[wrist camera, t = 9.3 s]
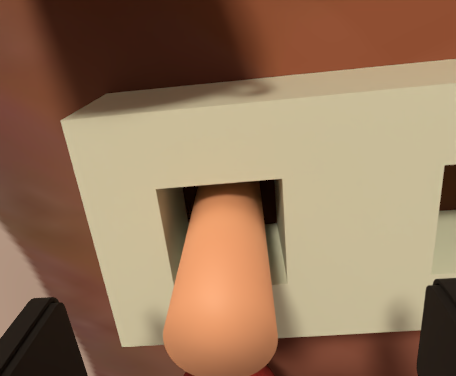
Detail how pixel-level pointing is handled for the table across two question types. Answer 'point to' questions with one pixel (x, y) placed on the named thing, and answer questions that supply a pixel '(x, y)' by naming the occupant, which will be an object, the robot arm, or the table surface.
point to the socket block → (279, 190)
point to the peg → (223, 286)
